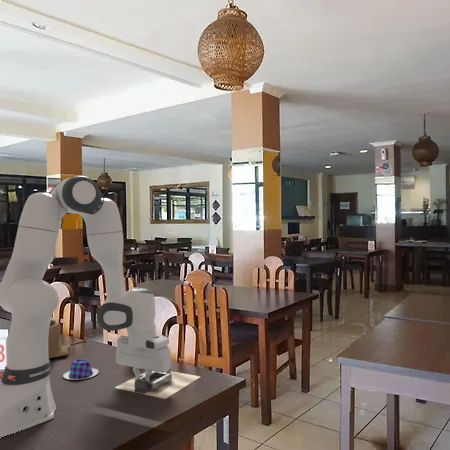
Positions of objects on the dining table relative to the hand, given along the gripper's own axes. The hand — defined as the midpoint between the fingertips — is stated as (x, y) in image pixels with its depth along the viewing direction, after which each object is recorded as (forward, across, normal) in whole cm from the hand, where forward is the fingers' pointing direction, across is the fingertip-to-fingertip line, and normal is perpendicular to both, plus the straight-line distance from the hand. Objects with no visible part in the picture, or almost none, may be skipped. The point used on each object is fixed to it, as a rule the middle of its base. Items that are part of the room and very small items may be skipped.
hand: (142, 381), depth 142 cm
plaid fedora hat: (+4, -29, +1) cm, 30 cm away
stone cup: (+3, -55, +10) cm, 56 cm away
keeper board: (+3, +3, +5) cm, 6 cm away
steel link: (+1, +3, +2) cm, 4 cm away
